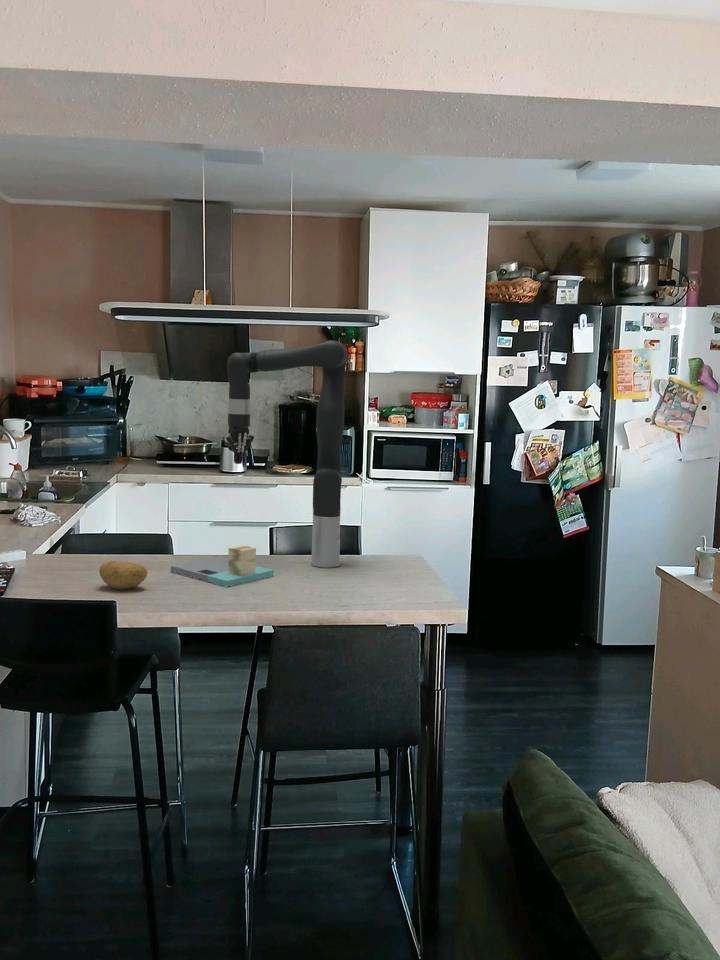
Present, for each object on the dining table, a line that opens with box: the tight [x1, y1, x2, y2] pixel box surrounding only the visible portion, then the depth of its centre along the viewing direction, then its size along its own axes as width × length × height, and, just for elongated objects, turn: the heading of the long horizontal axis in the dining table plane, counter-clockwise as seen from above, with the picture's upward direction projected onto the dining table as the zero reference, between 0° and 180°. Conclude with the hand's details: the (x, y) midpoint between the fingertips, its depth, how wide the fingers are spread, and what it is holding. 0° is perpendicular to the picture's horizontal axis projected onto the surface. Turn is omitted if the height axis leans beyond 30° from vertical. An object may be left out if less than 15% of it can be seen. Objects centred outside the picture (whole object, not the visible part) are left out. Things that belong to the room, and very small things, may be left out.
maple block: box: [227, 544, 257, 576], centre depth 271 cm, size 6×6×8 cm
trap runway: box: [170, 556, 275, 588], centre depth 277 cm, size 26×20×2 cm
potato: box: [98, 560, 148, 590], centre depth 256 cm, size 10×14×8 cm
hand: (238, 463), depth 295 cm, fingers closed
